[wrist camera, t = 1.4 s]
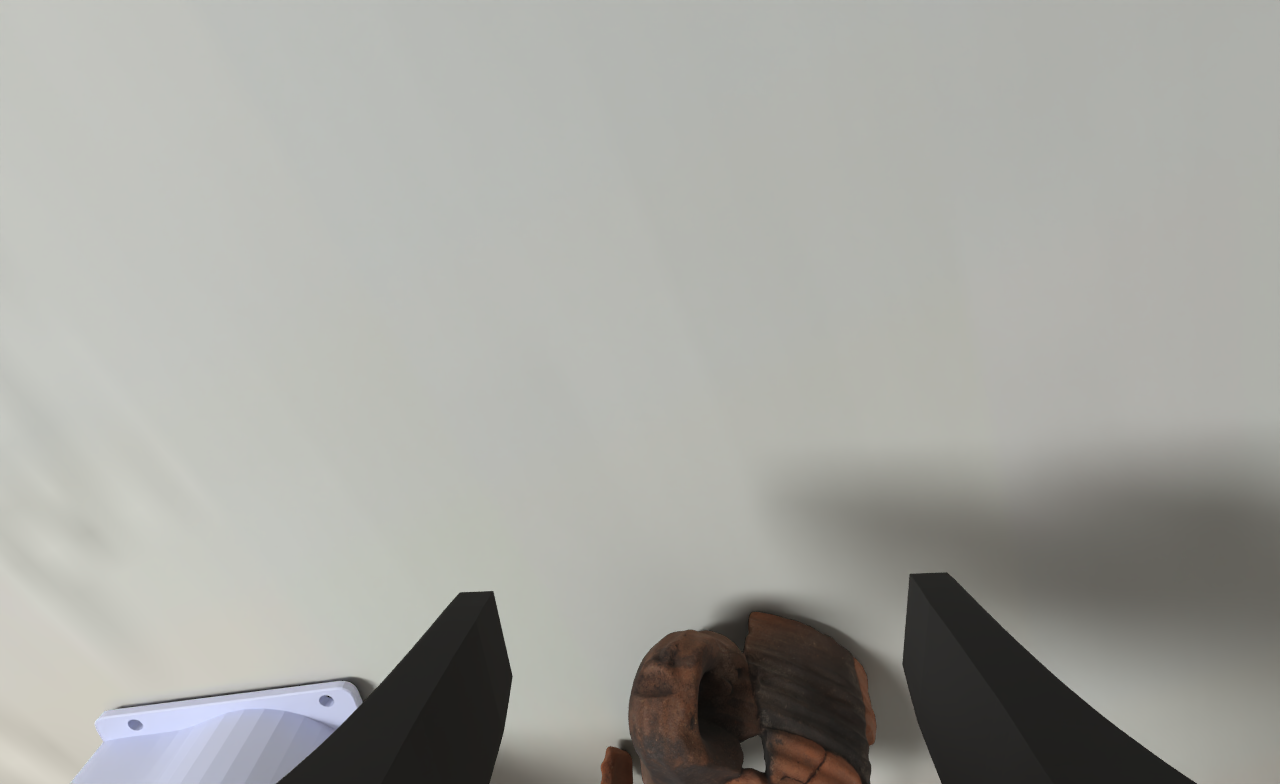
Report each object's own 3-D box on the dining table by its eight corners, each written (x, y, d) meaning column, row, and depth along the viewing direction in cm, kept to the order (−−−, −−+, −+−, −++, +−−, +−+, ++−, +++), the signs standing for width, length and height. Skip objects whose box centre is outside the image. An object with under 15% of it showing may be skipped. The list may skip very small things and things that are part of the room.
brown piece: (919, 716, 28) (908, 988, 22) (698, 697, 33) (648, 916, 28) (801, 534, 21) (747, 864, 16) (547, 547, 26) (442, 799, 21)
